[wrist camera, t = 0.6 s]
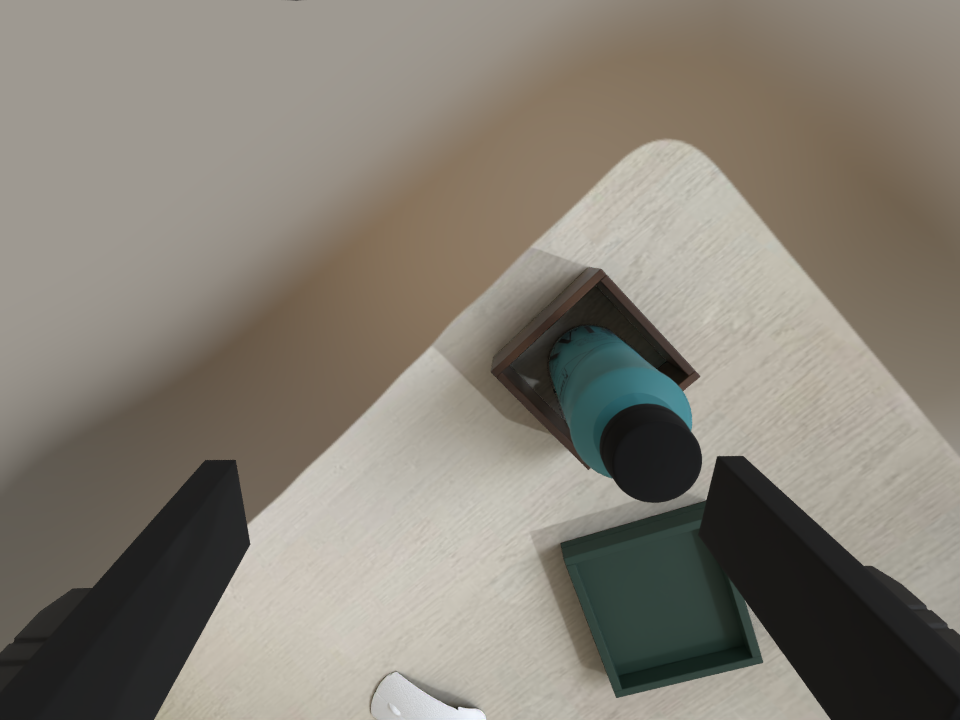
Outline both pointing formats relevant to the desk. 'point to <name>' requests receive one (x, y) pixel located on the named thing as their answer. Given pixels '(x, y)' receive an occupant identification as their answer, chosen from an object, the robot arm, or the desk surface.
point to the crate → (572, 294)
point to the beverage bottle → (625, 415)
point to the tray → (660, 603)
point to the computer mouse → (413, 703)
